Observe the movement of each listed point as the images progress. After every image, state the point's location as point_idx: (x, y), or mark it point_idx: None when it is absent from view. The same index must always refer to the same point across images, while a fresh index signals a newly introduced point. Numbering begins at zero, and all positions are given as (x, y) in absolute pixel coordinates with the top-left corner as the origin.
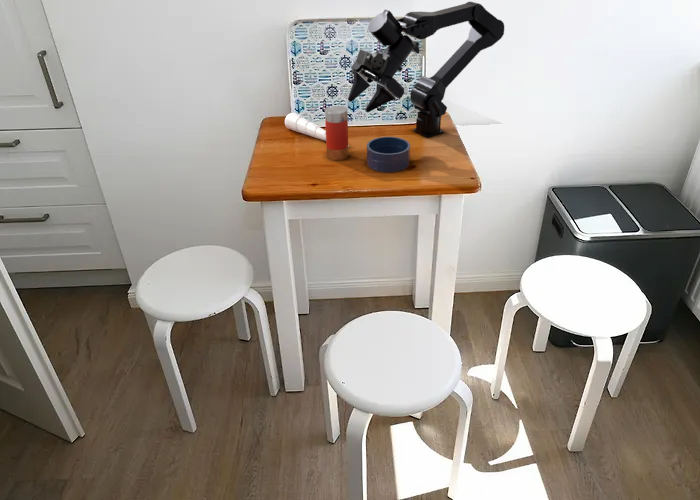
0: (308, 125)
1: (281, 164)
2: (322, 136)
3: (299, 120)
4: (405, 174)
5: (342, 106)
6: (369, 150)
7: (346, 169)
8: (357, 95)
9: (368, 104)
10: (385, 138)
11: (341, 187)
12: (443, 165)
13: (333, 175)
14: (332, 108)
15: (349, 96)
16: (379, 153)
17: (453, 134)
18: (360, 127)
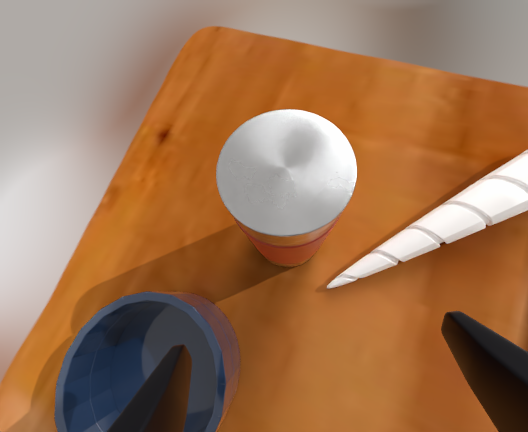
0: (497, 184)
1: (296, 94)
2: (416, 221)
3: None
4: None
5: (323, 221)
6: (144, 292)
7: (196, 227)
8: (499, 426)
9: (156, 387)
10: (213, 412)
11: (119, 185)
12: None
13: (183, 186)
14: (313, 154)
15: (476, 330)
16: (98, 313)
17: None
18: None
